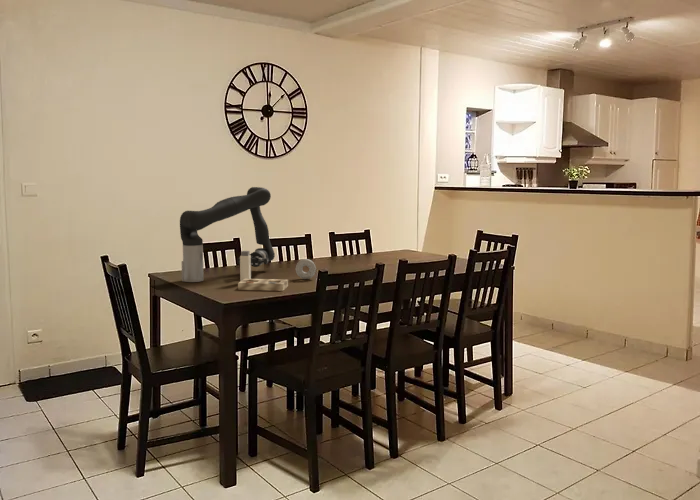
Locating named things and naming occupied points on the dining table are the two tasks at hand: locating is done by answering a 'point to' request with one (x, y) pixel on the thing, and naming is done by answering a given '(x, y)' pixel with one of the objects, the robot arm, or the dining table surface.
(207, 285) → the dining table surface
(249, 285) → the socket board
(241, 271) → the plug
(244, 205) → the robot arm
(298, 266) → the donut
